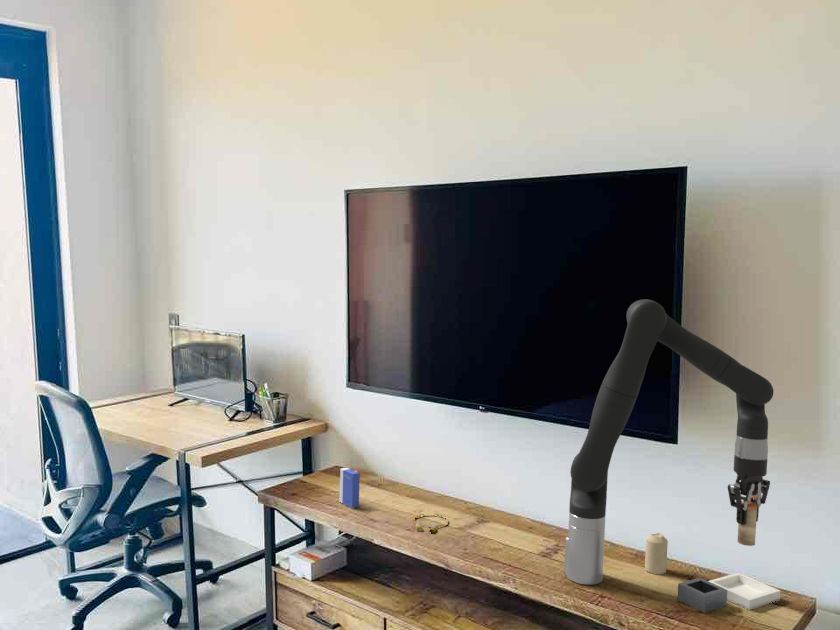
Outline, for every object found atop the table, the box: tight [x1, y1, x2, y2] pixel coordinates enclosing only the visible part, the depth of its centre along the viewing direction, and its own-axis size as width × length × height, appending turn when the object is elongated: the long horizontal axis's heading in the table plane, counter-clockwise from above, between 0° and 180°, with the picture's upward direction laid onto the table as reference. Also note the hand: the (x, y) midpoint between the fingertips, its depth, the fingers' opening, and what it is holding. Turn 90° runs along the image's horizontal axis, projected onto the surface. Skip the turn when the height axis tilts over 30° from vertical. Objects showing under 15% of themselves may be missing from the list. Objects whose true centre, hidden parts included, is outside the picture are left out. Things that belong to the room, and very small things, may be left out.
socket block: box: [676, 577, 728, 614], centre depth 178 cm, size 8×8×4 cm
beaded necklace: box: [413, 513, 445, 534], centre depth 228 cm, size 12×16×2 cm
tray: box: [708, 572, 781, 611], centre depth 183 cm, size 12×12×2 cm
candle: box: [644, 532, 669, 575], centre depth 197 cm, size 6×6×10 cm
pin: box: [737, 500, 757, 547], centre depth 182 cm, size 4×4×10 cm
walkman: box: [338, 467, 361, 509], centre depth 244 cm, size 8×3×12 cm, turn 39°
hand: (747, 522), depth 182 cm, fingers closed on pin, 4 cm apart
